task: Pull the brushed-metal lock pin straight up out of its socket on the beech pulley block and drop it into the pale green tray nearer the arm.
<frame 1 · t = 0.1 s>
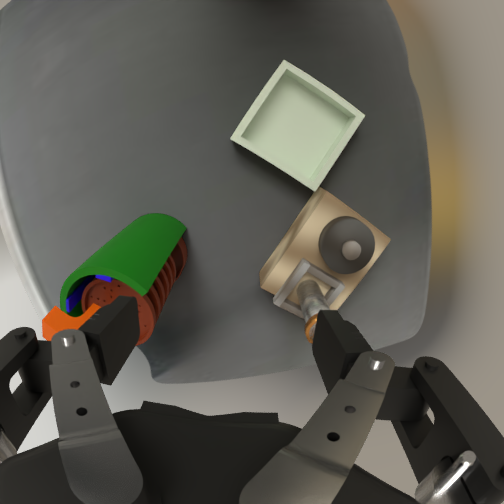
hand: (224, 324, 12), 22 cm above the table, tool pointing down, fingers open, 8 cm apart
motor: (154, 250, 35), on the table
tray: (296, 125, 29), on the table
pulley block: (320, 250, 35), on the table
lock pin: (308, 290, 32), point 4 cm above the table, touching pulley block
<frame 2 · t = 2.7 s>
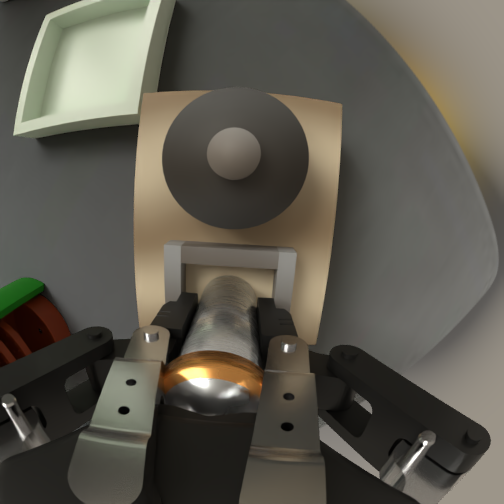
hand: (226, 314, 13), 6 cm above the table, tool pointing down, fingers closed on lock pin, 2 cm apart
motor: (38, 329, 19), on the table
tray: (97, 63, 14), on the table
pulley block: (235, 214, 17), on the table
lock pin: (228, 300, 14), point 4 cm above the table, touching gripper, pulley block
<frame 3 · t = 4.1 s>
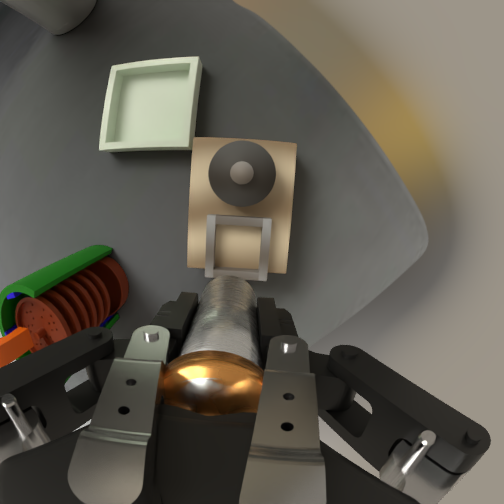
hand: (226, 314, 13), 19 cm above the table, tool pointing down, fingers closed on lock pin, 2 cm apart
motor: (100, 283, 33), on the table
tray: (153, 107, 28), on the table
pulley block: (241, 203, 31), on the table
lock pin: (228, 301, 14), point 18 cm above the table, touching gripper
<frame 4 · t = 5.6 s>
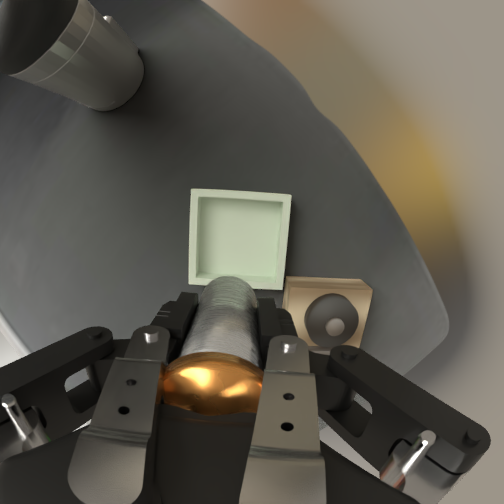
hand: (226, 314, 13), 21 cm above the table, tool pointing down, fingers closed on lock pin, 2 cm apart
tray: (238, 236, 33), on the table
pulley block: (317, 323, 36), on the table
lock pin: (228, 301, 14), point 19 cm above the table, touching gripper
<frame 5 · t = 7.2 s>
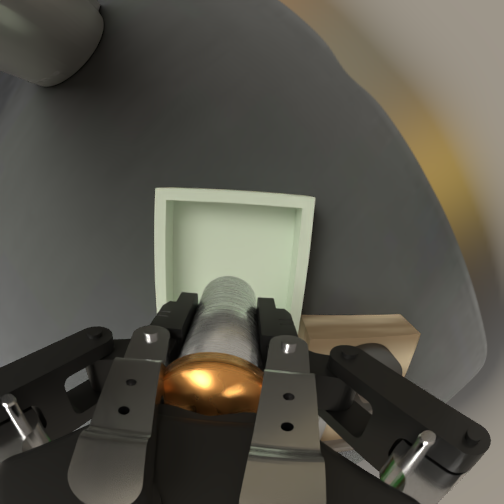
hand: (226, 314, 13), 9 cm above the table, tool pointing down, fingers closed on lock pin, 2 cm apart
tray: (231, 259, 22), on the table
pulley block: (339, 372, 25), on the table
lock pin: (228, 301, 14), point 8 cm above the table, touching gripper
when the fingers open (4 cm above the table, at t = 8.4 s): lock pin drops 2 cm, resting on tray.
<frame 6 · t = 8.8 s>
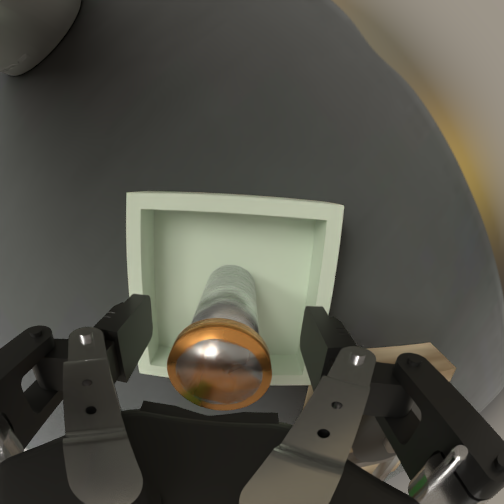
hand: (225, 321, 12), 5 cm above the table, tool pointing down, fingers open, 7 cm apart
tray: (230, 284, 17), on the table
pulley block: (357, 409, 20), on the table
lock pin: (230, 288, 16), point 1 cm above the table, touching tray
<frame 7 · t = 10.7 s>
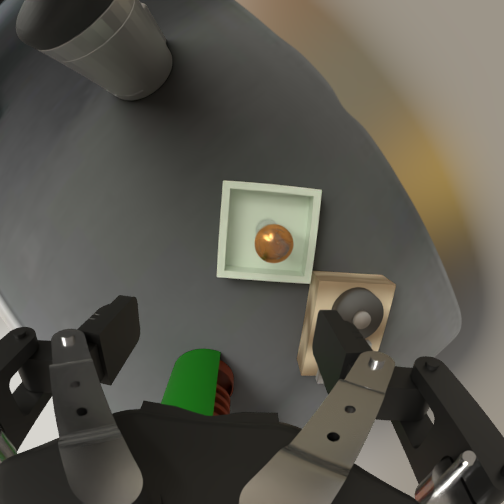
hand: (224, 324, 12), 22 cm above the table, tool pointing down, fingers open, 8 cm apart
motor: (203, 376, 38), on the table
tray: (267, 230, 33), on the table
pulley block: (339, 319, 36), on the table
lock pin: (267, 230, 32), point 1 cm above the table, touching tray
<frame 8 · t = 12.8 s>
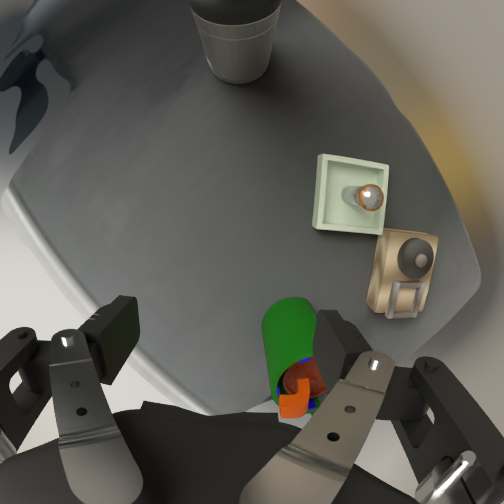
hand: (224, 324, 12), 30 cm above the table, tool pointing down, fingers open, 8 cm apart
motor: (288, 325, 45), on the table
tray: (348, 194, 40), on the table
pulley block: (397, 267, 43), on the table
lock pin: (349, 194, 40), point 1 cm above the table, touching tray
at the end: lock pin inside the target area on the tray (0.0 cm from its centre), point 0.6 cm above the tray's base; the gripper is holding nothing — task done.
